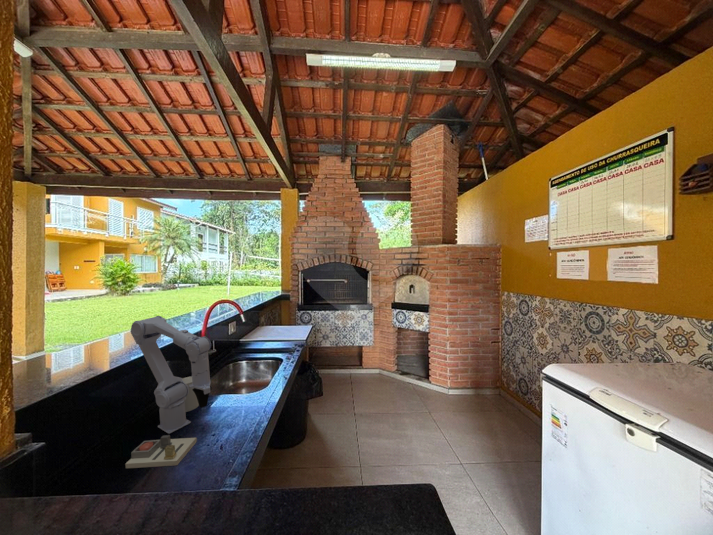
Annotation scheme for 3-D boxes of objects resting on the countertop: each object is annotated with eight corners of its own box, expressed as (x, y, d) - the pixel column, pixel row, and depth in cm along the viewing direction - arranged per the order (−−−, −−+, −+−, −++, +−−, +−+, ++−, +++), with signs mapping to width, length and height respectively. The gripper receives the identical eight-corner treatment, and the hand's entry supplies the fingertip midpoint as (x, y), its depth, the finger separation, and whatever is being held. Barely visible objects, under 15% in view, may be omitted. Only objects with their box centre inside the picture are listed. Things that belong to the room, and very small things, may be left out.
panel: (125, 468, 86) (124, 457, 86) (151, 444, 97) (150, 434, 97) (177, 465, 86) (176, 454, 86) (196, 441, 97) (196, 432, 97)
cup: (184, 402, 125) (182, 377, 125) (202, 401, 126) (200, 375, 125) (173, 413, 117) (171, 385, 116) (193, 411, 118) (191, 383, 117)
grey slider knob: (160, 448, 92) (159, 438, 92) (163, 444, 94) (163, 434, 94) (168, 447, 92) (167, 437, 92) (172, 443, 94) (171, 434, 94)
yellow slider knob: (164, 458, 87) (163, 448, 87) (167, 454, 89) (167, 444, 89) (173, 458, 87) (172, 448, 87) (176, 454, 89) (175, 444, 89)
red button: (137, 456, 89) (136, 449, 89) (145, 448, 93) (145, 442, 93) (148, 455, 89) (147, 448, 89) (156, 447, 93) (155, 441, 93)
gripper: (183, 369, 105) (186, 403, 106) (193, 380, 95) (196, 418, 95) (204, 363, 110) (206, 396, 110) (215, 373, 99) (218, 409, 100)
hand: (203, 406), depth 103 cm, fingers closed
